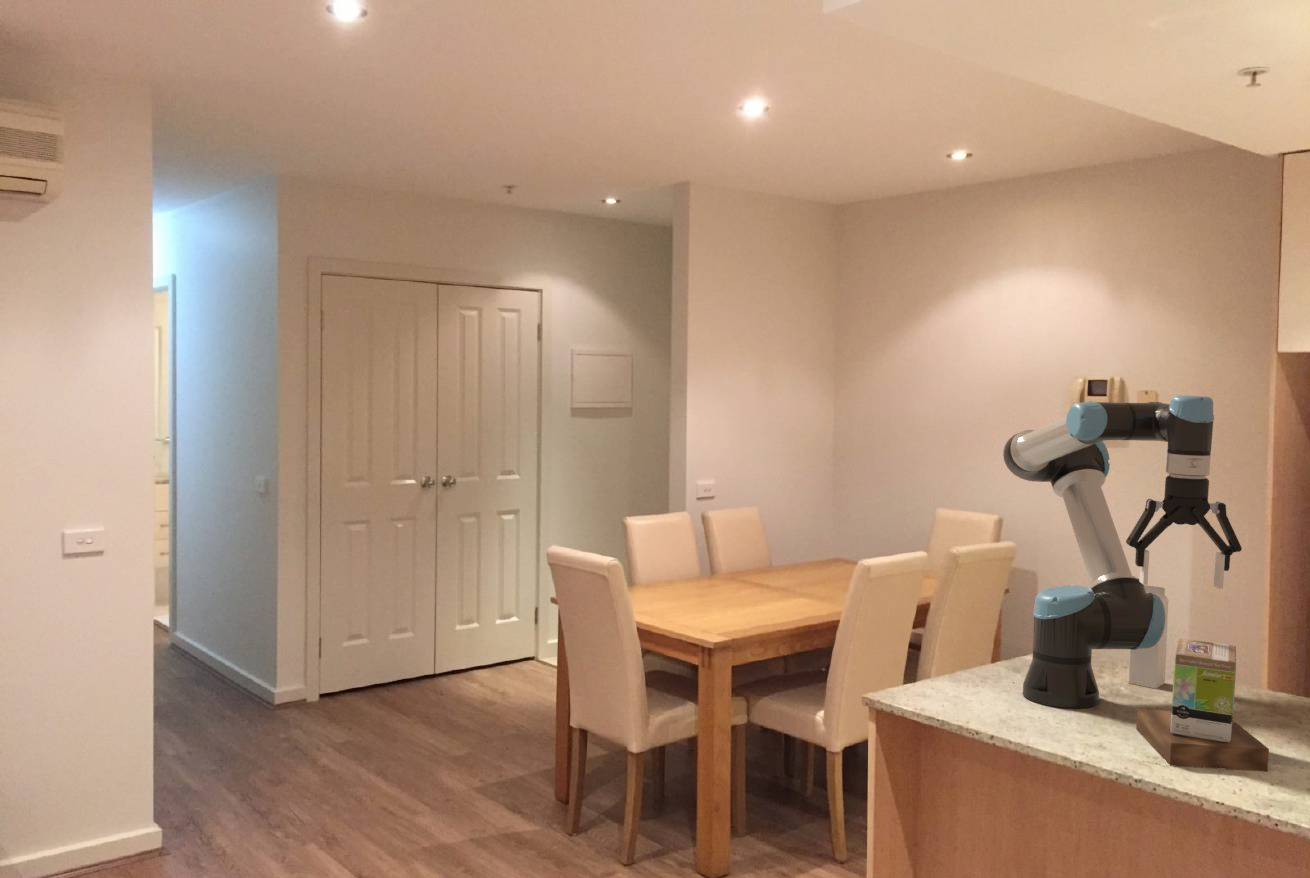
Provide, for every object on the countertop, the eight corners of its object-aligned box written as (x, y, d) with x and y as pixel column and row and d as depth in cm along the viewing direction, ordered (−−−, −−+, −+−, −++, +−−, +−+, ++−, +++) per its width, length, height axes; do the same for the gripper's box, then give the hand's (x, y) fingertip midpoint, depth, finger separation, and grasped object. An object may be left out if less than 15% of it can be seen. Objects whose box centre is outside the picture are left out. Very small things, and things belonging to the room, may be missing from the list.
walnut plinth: (1170, 765, 190) (1171, 743, 190) (1136, 729, 210) (1137, 709, 209) (1267, 771, 188) (1268, 748, 187) (1224, 734, 207) (1225, 714, 207)
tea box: (1232, 744, 189) (1236, 660, 189) (1169, 734, 194) (1172, 653, 193) (1232, 721, 203) (1236, 643, 202) (1173, 712, 207) (1176, 636, 207)
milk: (1156, 689, 238) (1160, 589, 237) (1127, 683, 242) (1132, 585, 241) (1165, 683, 243) (1169, 586, 241) (1137, 678, 247) (1141, 582, 245)
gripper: (1123, 475, 206) (1117, 585, 208) (1265, 481, 202) (1257, 593, 204) (1113, 471, 214) (1107, 577, 215) (1250, 476, 210) (1242, 584, 211)
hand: (1180, 585), depth 210 cm, fingers open, 13 cm apart
